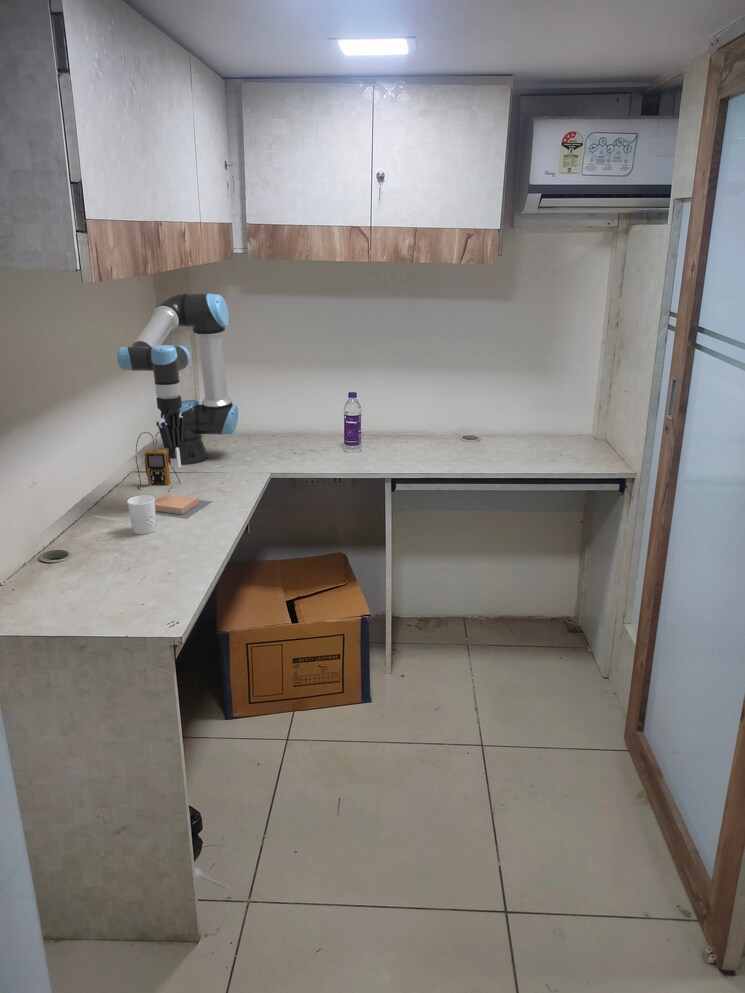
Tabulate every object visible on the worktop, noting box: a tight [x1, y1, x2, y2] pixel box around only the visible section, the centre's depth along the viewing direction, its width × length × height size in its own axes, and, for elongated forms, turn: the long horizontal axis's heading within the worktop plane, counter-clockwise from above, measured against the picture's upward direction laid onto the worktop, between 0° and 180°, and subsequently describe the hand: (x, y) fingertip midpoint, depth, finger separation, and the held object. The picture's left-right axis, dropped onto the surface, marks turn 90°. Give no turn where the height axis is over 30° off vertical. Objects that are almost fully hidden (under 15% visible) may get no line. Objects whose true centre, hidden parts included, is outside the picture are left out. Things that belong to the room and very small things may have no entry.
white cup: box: [127, 495, 157, 535], centre depth 217 cm, size 8×8×10 cm
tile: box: [155, 493, 200, 514], centre depth 234 cm, size 2×12×10 cm
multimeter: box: [135, 431, 181, 491], centre depth 250 cm, size 15×10×20 cm
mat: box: [155, 499, 213, 520], centre depth 236 cm, size 16×18×1 cm
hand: (176, 466), depth 233 cm, fingers closed
